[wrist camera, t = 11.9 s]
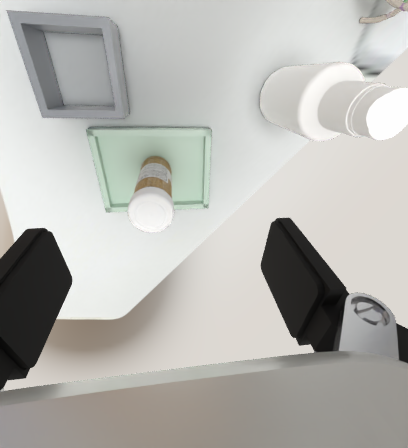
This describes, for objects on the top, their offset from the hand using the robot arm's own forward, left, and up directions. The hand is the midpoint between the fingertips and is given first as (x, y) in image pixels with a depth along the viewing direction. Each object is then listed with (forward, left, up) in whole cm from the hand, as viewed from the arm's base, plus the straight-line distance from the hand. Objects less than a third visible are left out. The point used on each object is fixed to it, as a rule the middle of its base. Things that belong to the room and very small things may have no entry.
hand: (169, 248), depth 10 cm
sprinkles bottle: (+5, -2, -25) cm, 26 cm away
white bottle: (-5, +16, -26) cm, 31 cm away
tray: (+5, -2, -26) cm, 26 cm away
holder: (-7, -9, -26) cm, 28 cm away
